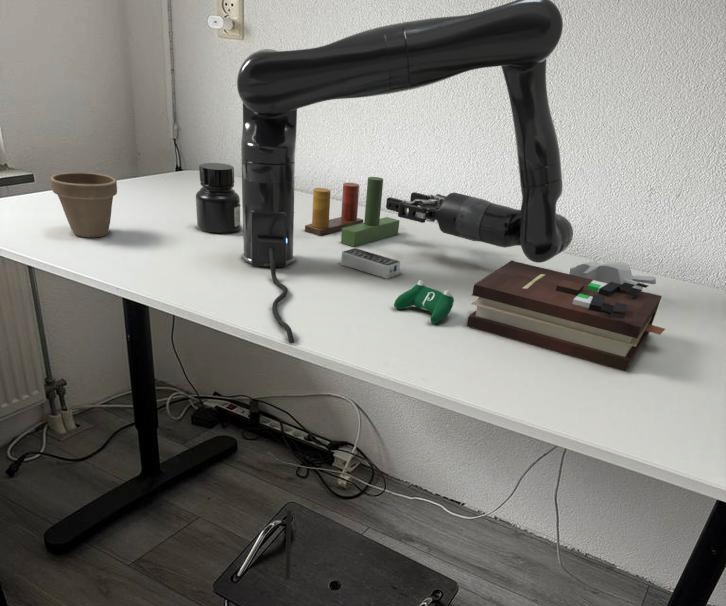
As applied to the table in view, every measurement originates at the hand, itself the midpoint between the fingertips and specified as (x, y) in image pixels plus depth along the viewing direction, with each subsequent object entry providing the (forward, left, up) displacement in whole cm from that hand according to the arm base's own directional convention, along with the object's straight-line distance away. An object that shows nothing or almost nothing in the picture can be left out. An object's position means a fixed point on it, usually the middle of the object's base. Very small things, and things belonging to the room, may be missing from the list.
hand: (399, 200), depth 134 cm
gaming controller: (-38, +2, -9) cm, 39 cm away
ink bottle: (+7, +37, -9) cm, 38 cm away
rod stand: (+12, +12, -9) cm, 19 cm away
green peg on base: (+5, +5, -9) cm, 11 cm away
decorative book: (-44, -19, -9) cm, 49 cm away
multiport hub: (-16, +8, -9) cm, 20 cm away
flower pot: (-1, +61, -9) cm, 61 cm away
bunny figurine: (-23, -37, -9) cm, 45 cm away
